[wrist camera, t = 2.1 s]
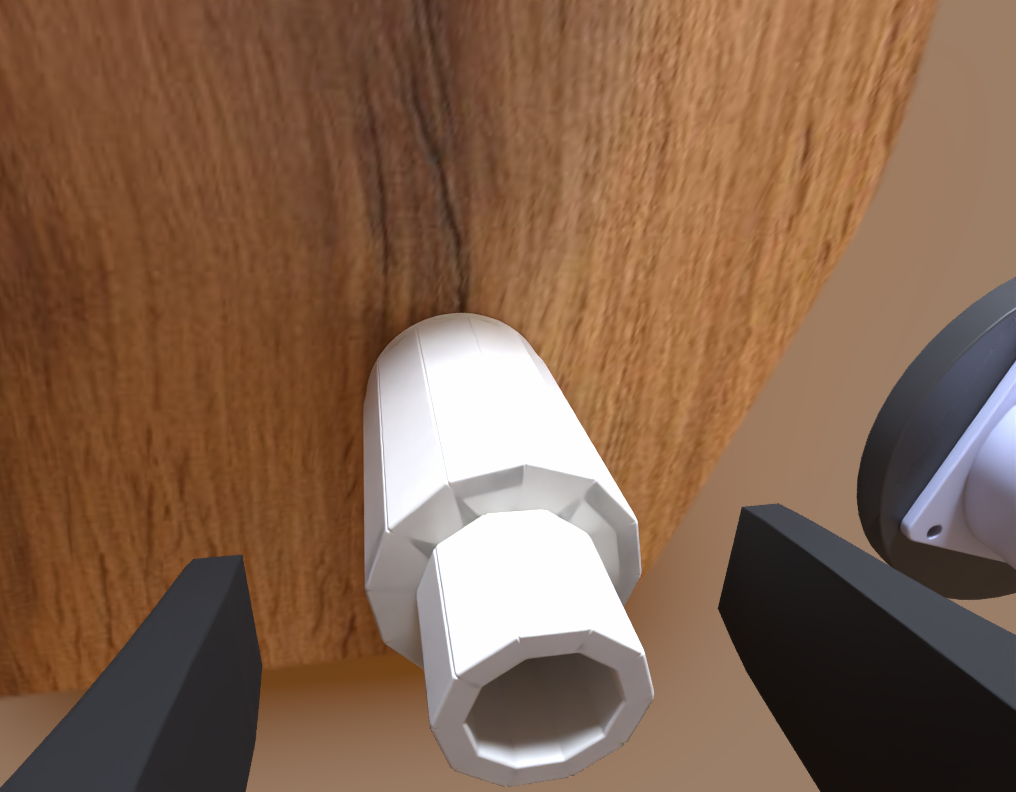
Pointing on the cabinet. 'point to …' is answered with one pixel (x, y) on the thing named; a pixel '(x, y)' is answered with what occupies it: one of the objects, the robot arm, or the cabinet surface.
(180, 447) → the cabinet surface
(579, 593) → the bottle
